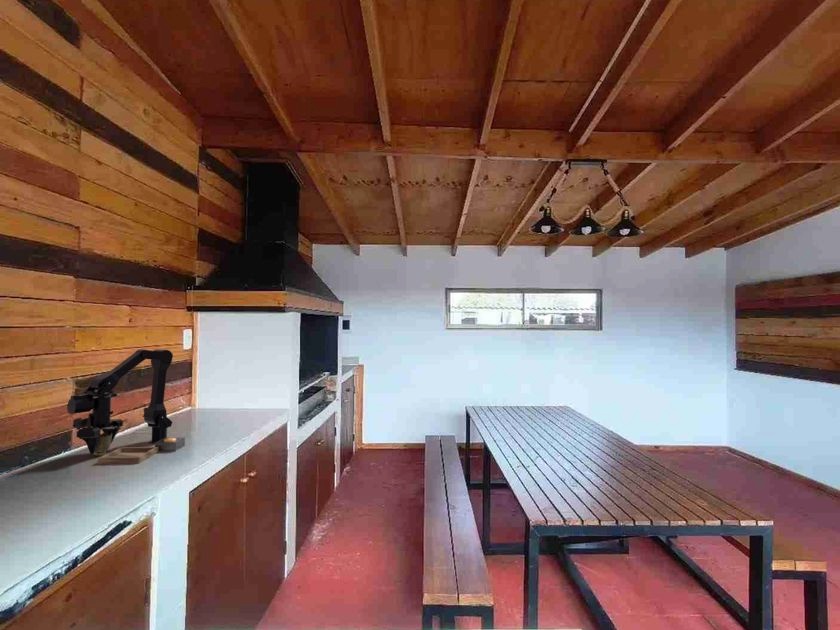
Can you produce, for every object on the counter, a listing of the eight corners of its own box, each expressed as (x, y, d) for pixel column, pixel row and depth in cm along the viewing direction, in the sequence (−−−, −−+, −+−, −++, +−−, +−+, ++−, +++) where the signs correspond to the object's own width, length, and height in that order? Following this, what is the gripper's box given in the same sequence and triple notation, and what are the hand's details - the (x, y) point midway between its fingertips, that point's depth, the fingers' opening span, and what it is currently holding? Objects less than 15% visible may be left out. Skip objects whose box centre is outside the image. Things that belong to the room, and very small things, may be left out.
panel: (164, 446, 178) (164, 437, 178) (184, 445, 179) (184, 437, 179) (154, 451, 170) (154, 442, 170) (175, 451, 171) (175, 442, 171)
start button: (167, 443, 176) (167, 437, 177) (178, 443, 177) (178, 437, 177) (161, 446, 172) (161, 440, 172) (173, 446, 173) (173, 440, 173)
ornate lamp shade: (116, 453, 167) (116, 433, 167) (96, 459, 160) (97, 437, 160) (102, 451, 169) (103, 431, 169) (82, 457, 162) (83, 435, 162)
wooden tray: (121, 452, 168) (121, 447, 168) (158, 452, 169) (158, 446, 169) (97, 464, 154) (97, 458, 154) (138, 463, 155) (138, 457, 155)
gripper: (95, 405, 173) (93, 444, 173) (61, 414, 155) (59, 458, 154) (124, 405, 175) (123, 443, 174) (94, 414, 156) (92, 457, 156)
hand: (100, 450), depth 164 cm, fingers open, 9 cm apart
